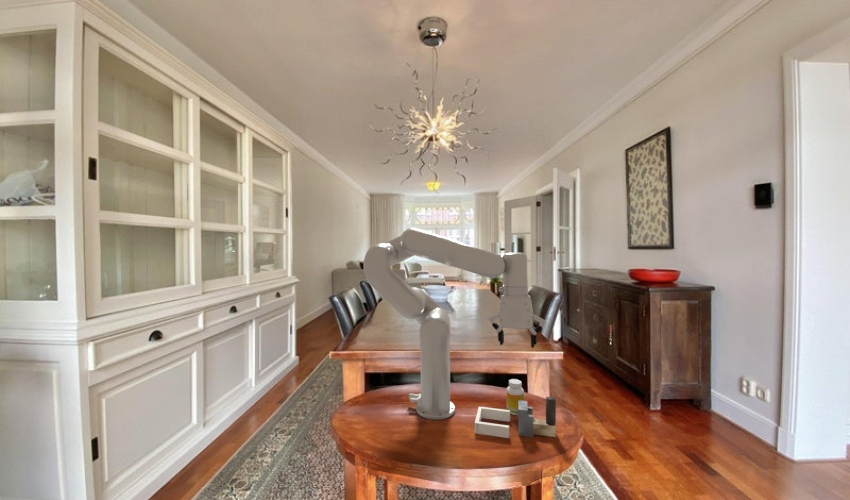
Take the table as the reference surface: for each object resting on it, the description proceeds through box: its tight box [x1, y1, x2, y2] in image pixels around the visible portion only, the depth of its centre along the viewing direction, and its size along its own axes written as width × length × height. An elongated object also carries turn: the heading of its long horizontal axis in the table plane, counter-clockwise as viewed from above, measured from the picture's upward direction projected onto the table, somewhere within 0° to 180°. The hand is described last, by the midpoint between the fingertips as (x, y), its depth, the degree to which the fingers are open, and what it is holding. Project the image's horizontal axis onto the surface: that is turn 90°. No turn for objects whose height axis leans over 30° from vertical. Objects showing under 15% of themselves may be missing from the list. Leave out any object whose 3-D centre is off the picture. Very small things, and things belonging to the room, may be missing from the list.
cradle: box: [474, 406, 511, 439], centre depth 100 cm, size 10×10×3 cm
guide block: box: [517, 400, 534, 438], centre depth 97 cm, size 4×6×7 cm
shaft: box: [533, 396, 557, 438], centre depth 96 cm, size 8×3×10 cm, turn 74°
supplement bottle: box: [506, 378, 525, 416], centre depth 108 cm, size 5×5×10 cm
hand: (517, 345), depth 107 cm, fingers open, 9 cm apart
